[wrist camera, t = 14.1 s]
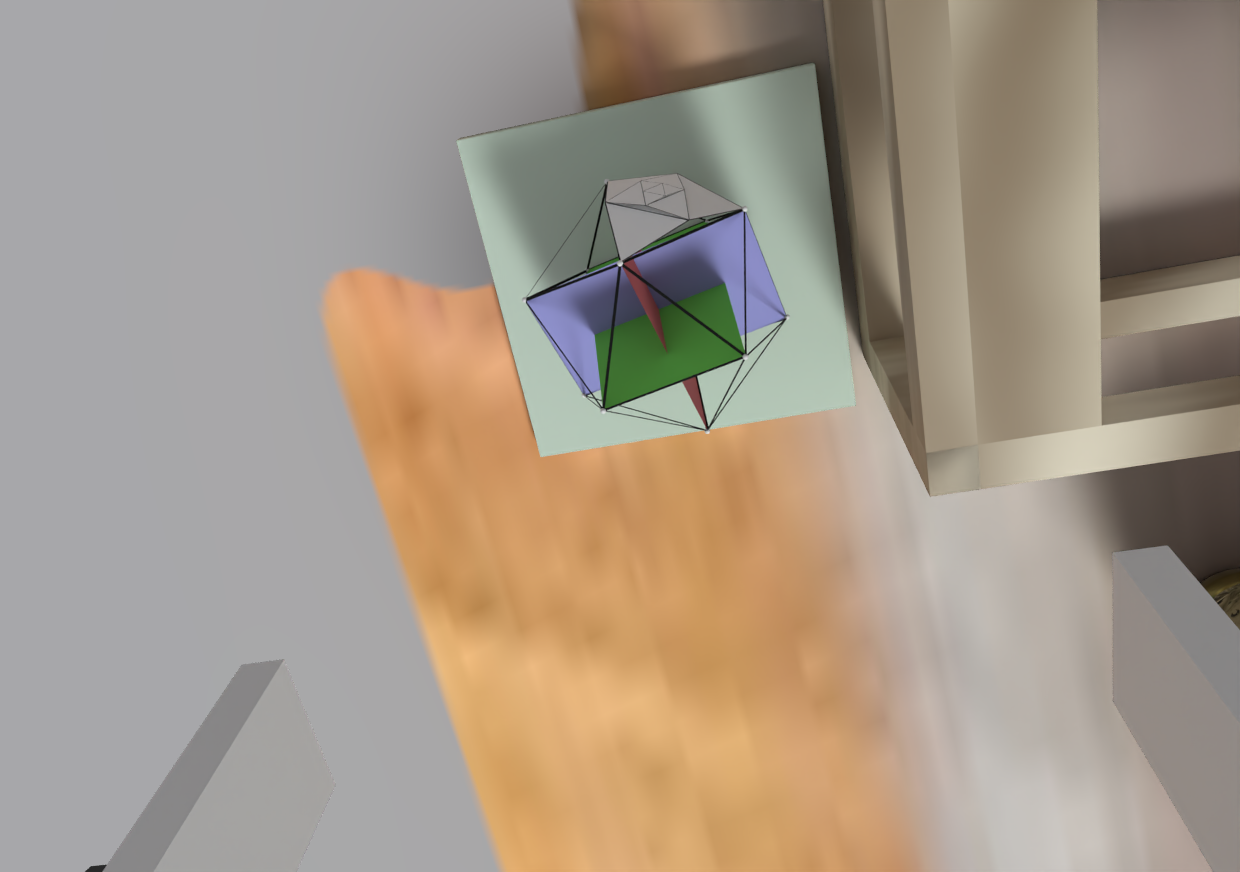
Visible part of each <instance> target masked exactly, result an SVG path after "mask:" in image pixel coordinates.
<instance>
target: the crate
mask: <svg viewBox="0 0 1240 872" xmlns="http://www.w3.org/2000/svg"><path fill="white" fill-rule="evenodd" d="M823 8H824V16H825V25H826V34H827V43H828V51H829V60H830V69H831V78H832V86H833V95H834V104H835V113H836V121H837V130H838V139H839V148H840V156H841V165H842V174H843V182H844V191H845V200H846V209H847V217H848V226H849V235H850V244H851V252H852V261H853V270H854V279H855V287H856V296H857V305H858V314H859V322H860V331H861V340H862V348H863V356H864V358H865V360H866V362H867V364H868V367H869V369H870V371H871V373H872V375H873V377H874V379H875V381H876V383H877V386H878V388H879V390H880V392H881V394H882V396H883V398H884V400H885V402H886V405H887V407H888V409H889V411H890V413H891V415H892V417H893V419H894V421H895V424H896V426H897V428H898V430H899V432H900V434H901V436H902V438H903V440H904V443H905V445H906V447H907V449H908V451H909V453H910V455H911V457H912V459H913V462H914V464H915V466H916V468H917V470H918V472H919V474H920V476H921V478H922V481H923V483H924V485H925V487H926V489H927V491H928V493H929V495H930V497H931V496H938V495H945V494H952V493H958V492H965V491H972V490H978V489H985V488H992V487H999V486H1005V485H1012V484H1019V483H1025V482H1032V481H1039V480H1046V479H1052V478H1059V477H1066V476H1072V475H1079V474H1086V473H1093V472H1099V471H1106V470H1113V469H1119V468H1126V467H1133V466H1140V465H1146V464H1153V463H1160V462H1166V461H1173V460H1180V459H1187V458H1193V457H1200V456H1207V455H1213V454H1220V453H1227V452H1234V451H1240V375H1238V376H1231V377H1225V378H1219V379H1213V380H1206V381H1200V382H1194V383H1187V384H1181V385H1175V386H1169V387H1162V388H1156V389H1150V390H1143V391H1137V392H1131V393H1125V394H1118V395H1112V396H1106V397H1101V339H1105V338H1111V337H1117V336H1123V335H1129V334H1135V333H1141V332H1147V331H1153V330H1159V329H1165V328H1171V327H1177V326H1183V325H1189V324H1195V323H1201V322H1207V321H1213V320H1219V319H1225V318H1231V317H1237V316H1240V255H1238V256H1233V257H1227V258H1221V259H1216V260H1210V261H1204V262H1199V263H1193V264H1187V265H1181V266H1176V267H1170V268H1164V269H1159V270H1153V271H1147V272H1141V273H1136V274H1130V275H1124V276H1119V277H1113V278H1107V279H1102V280H1100V220H1099V125H1098V30H1097V0H823Z"/></svg>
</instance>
